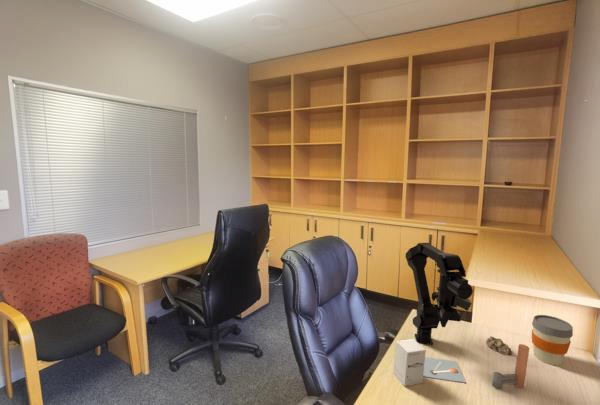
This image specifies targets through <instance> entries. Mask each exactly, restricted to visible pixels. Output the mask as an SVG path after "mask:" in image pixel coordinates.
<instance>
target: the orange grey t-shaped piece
mask: <svg viewBox="0 0 600 405" xmlns="http://www.w3.org/2000/svg"><path fill="white" fill-rule="evenodd" d="M529 355H530V347H529V346H528V345H526V344H523V343H521V344H520V343H519V344H518V346H517V355H516V362H515V370H514V373H505V374H502V373H501V372H498V371H494V372H493V375H492V381H491V384H492V386H493V387H494V388H495V389H498V390H500V389H502V386H503V385H506V384H507V385H509V384H512V385H515V386H516V387H517V388H520V389H521V388H522V389H523V388H525V382H526V376H527V368H528V360H529Z"/></svg>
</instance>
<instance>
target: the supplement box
mask: <svg viewBox="0 0 600 405" xmlns="http://www.w3.org/2000/svg"><path fill="white" fill-rule="evenodd" d="M426 351H427V350H426V349H425V348H424V347H423V346H422V345H421V343H418V342H416V339H414V338H409V339H403V340H396V341H395V347H394V355H393V356H394V358H393V359H394V360H393V368H392V370H393V371H392V374H393V375H394V376H395V377H396V379H398V381H399V382H400V383H401V384H402V386H403V387H408V386H414V385H419V384H423V381H424V377H423V373H424V362H425V357H426Z"/></svg>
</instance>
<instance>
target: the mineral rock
mask: <svg viewBox="0 0 600 405" xmlns="http://www.w3.org/2000/svg"><path fill="white" fill-rule="evenodd" d="M486 345H487V347H488V348H490V349H491V350H493V351H495V352H497V353H500V354H502V355H506V356H512V353H513V350H511V347H509V345H508V344H506V343H504V341H503V340H502V339H501V338H496V337H494V336H489V337H488V338H487V340H486Z"/></svg>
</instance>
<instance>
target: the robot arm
mask: <svg viewBox="0 0 600 405" xmlns="http://www.w3.org/2000/svg"><path fill="white" fill-rule="evenodd" d="M428 258H429V259H431V260H433V261H434V262H435V263H436V264H435V265H436V267H438V269H437V272H438V273H439V282H438V286H437V287H436V288H437V289H436V290H437V291H433V293H431V295H430V291H429V290H430V289H429V285H428V281H427V275H426V271H425V269H426V266H427V263H428V260H427V259H428ZM405 259H406V262H407V265H408V267H410V269H411V270H412V273H413V278H414V283H415V284H414V285H415V290H416V295H417V300H418V301H417V302H418V306H417V309H416V316H414V317H413V318H412V324H413V325H414V326H415V328H416V333H414V338H415V341H416V342H418V343H419V344H424V345H430V346H431V345H432V346H433V345H434V342H433V340H432V332H433V329H438V326H439V324H440V326H441V328H446V326H447V324H448V322H449V321H452V322H461V321H462V315H461V313H460V312H459V311H458V309H457V308H458V307H459V308H461V309H463V310H465V311H467V312H468V311H469V309H470V308H471V306H472V301H471V300H470V299H469V298H471V296H472V295H473V292H474V290H473V287H472V285H471V284H469V280H468V279H466V278H465V277H467V274H466V269H465V267H464V264H463V261H462V259H461V257H460V256H459V255H458V254H456V253H455V254H454V253H448V252H444V251H443V250H440V249H439V248H437V247H436V246H434V245H432V244H431V243H430V242H419V243H417V244H415V246H412V247H410V248H408V250H407V251H406V253H405ZM431 299H432V300H431ZM432 301H436V304H434V305H433V303H432Z"/></svg>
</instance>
